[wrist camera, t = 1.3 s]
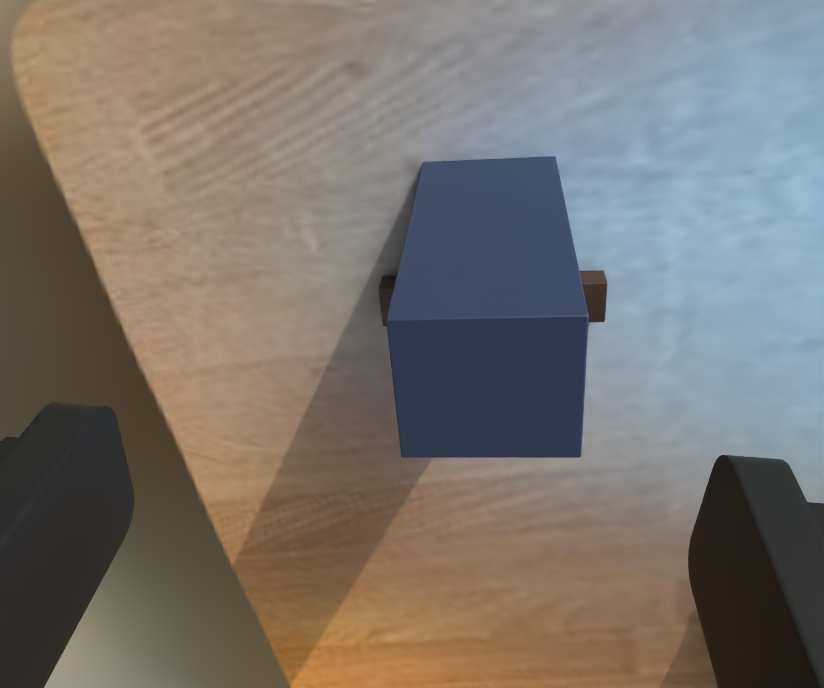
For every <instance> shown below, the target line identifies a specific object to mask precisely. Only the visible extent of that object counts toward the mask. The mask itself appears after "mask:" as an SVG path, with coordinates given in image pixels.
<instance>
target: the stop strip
mask: <svg viewBox="0 0 824 688" xmlns="http://www.w3.org/2000/svg"><path fill="white" fill-rule="evenodd" d="M579 272H580V277H581V282H582V287H583V291H584V296H585V301H586V306H587V311H588V315H589V320H588V322H604V321H605V311H606V296H607V280H606V276H605V273H604V271H579ZM396 277H397V276H389V277H382V279H381V283H380V287H379V295H380V304H381V313H382V322H383V326H387V321H386V320H387V316H388V311H389V307H390V303H391V298H392V294H393V290H394V285H395V281H396Z"/></svg>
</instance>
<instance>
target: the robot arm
mask: <svg viewBox="0 0 824 688" xmlns="http://www.w3.org/2000/svg"><path fill="white" fill-rule="evenodd" d="M133 506H134V491H133V486H132V482H131V477H130V473H129V469H128V464H127V460H126V456H125V452H124V447H123V443H122V439H121V434H120V430H119V426H118V422H117V418H116V416H115V413H114V411H113V410H112V409H111V408H110V407H107V406H97V405H83V404H71V403H58V402H53V403H50V404H48V405H46V406H45V407H44V408H43V409H42V410H41V411H40V413H39V414H38V415H37V416H36V417H35V419H34V420H33V421H32V422H31V423H30V425H29V426H28V427H27V428H26V430H25V431H24V432H23V433H22V434H21V436H20V437H19V438H16V437H6V438H5V439H3V440H2V441H0V688H44V686H45V684H46V683H47V681H48V679H49V677H50V675H51V673H52V671H53V670H54V668H55V666H56V664H57V662H58V660H59V658H60V657H61V655H62V653H63V651H64V649H65V647H66V646H67V644H68V642H69V640H70V638H71V636H72V634H73V633H74V631H75V629H76V627H77V625H78V623H79V622H80V620H81V618H82V616H83V614H84V612H85V610H86V609H87V607H88V605H89V603H90V601H91V599H92V597H93V595H94V594H95V592H96V590H97V588H98V586H99V584H100V582H101V581H102V579H103V577H104V575H105V573H106V572H107V570H108V568H109V566H110V564H111V562H112V560H113V558H114V557H115V555H116V553H117V551H118V549H119V547H120V546H121V544H122V542H123V540H124V538H125V536H126V534H127V532H128V529H129V526H130V523H131V519H132V514H133V508H134V507H133ZM688 568H689V579H690V584H691V589H692V592H693V596H694V600H695V603H696V607H697V611H698V615H699V618H700V622H701V626H702V629H703V633H704V637H705V640H706V644H707V648H708V651H709V655H710V659H711V662H712V666H713V670H714V674H715V677H716V681H717V685H718V688H824V504H823V503H810V502H807V501H806V499H805V497H804V495H803V492H802V490H801V488H800V486H799V484H798V482H797V480H796V478H795V476H794V474H793V472H792V470H791V468H790V466H789V465H788V464H787V463H786V462H785V461H784V460H781V459H770V458H757V457H744V456H730V455H721V456H720V457H718V459H717V460H716V462H715V464H714V466H713V469H712V472H711V475H710V478H709V482H708V485H707V488H706V491H705V494H704V497H703V501H702V504H701V507H700V510H699V513H698V516H697V520H696V523H695V526H694V529H693V532H692V536H691V539H690V545H689V555H688Z"/></svg>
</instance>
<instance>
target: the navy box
mask: <svg viewBox="0 0 824 688" xmlns="http://www.w3.org/2000/svg"><path fill="white" fill-rule="evenodd" d="M588 320H589V315H588V311H587V306H586V301H585V296H584V291H583V287H582V282H581V277H580V272H579V267H578V263H577V258H576V253H575V248H574V243H573V239H572V234H571V229H570V224H569V219H568V215H567V210H566V205H565V200H564V195H563V191H562V186H561V181H560V176H559V171H558V167H557V162H556V157H532V158H510V159H487V160H465V161H443V162H423V164H422V168H421V172H420V177H419V181H418V185H417V190H416V194H415V198H414V203H413V207H412V211H411V216H410V220H409V224H408V229H407V233H406V238H405V242H404V246H403V251H402V255H401V259H400V264H399V268H398V272H397V277H396V281H395V285H394V290H393V294H392V298H391V303H390V307H389V311H388V316H387V320H386V321H387V330H388V339H389V349H390V358H391V367H392V376H393V385H394V394H395V403H396V413H397V422H398V431H399V440H400V449H401V456H402V457H581V450H582V431H583V413H584V394H585V376H586V357H587V338H588Z"/></svg>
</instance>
